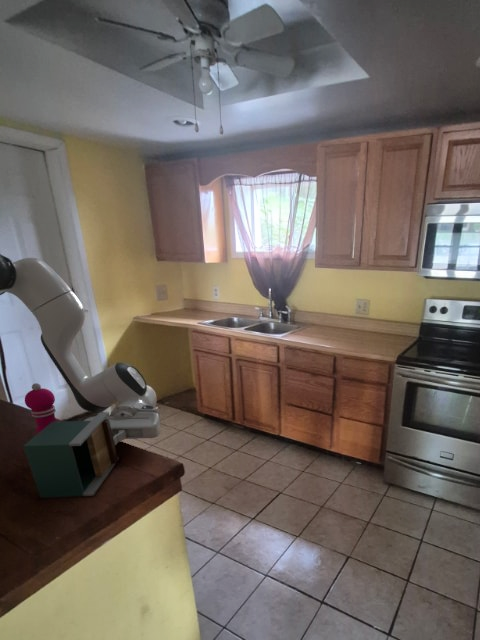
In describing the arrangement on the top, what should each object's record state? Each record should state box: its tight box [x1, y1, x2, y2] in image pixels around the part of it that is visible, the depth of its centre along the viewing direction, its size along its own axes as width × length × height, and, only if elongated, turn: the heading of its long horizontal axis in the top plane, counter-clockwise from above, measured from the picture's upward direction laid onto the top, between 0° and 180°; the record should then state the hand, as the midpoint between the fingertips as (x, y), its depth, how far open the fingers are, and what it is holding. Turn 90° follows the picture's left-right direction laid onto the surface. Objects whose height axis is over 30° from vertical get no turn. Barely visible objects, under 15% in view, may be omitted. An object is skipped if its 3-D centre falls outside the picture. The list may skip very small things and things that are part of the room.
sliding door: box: [86, 419, 119, 477], centre depth 87 cm, size 2×7×11 cm, turn 4°
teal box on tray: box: [22, 411, 120, 499], centre depth 85 cm, size 11×15×13 cm
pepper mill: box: [24, 382, 58, 437], centre depth 92 cm, size 7×7×20 cm
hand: (108, 442), depth 90 cm, fingers closed, pressing on sliding door
